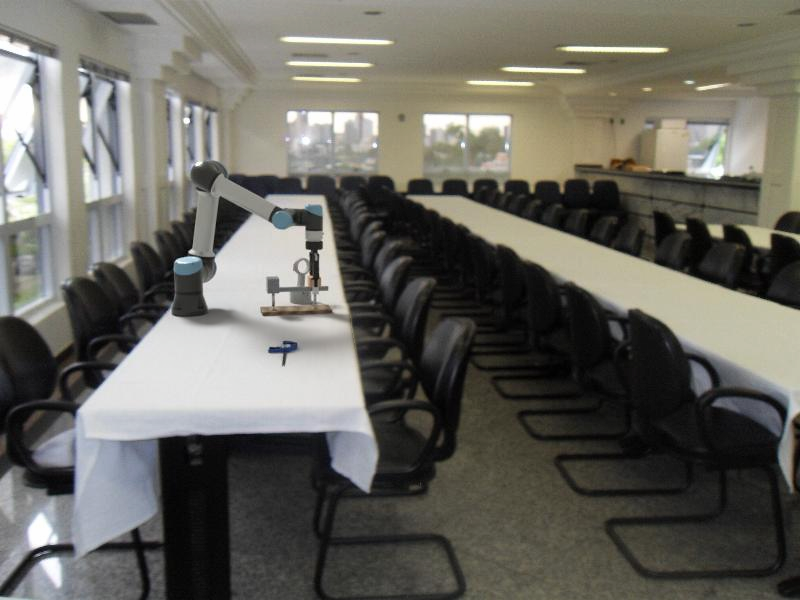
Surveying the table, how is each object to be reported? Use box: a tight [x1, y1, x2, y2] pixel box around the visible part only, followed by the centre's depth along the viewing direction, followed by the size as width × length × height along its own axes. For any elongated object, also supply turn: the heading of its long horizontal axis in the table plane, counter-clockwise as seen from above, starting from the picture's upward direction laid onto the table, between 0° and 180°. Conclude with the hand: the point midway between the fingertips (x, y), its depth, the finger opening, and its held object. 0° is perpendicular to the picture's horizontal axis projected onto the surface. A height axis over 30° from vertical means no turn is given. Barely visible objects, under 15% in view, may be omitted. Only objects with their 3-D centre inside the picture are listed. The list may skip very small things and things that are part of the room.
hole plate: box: [260, 304, 333, 317], centre depth 348 cm, size 30×12×2 cm, turn 104°
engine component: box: [289, 257, 312, 305], centre depth 369 cm, size 11×20×10 cm
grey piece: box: [265, 275, 329, 310], centre depth 346 cm, size 26×7×14 cm, turn 104°
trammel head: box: [307, 275, 322, 307], centre depth 348 cm, size 5×7×13 cm
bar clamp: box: [267, 340, 298, 368], centre depth 272 cm, size 32×2×10 cm
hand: (314, 292), depth 348 cm, fingers closed on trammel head, 7 cm apart
